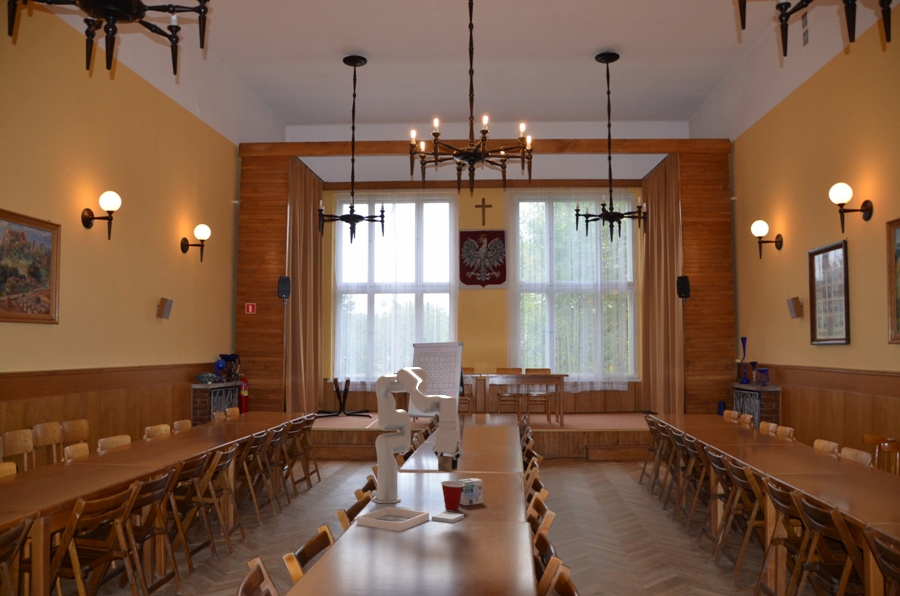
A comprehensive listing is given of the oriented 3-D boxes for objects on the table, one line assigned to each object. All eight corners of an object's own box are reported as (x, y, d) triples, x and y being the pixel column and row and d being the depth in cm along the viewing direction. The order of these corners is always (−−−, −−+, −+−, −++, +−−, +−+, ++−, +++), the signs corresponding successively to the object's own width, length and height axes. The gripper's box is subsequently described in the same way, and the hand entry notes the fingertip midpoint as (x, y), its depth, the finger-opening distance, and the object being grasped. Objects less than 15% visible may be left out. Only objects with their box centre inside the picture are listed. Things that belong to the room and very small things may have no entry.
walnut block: (438, 470, 299) (438, 456, 299) (445, 468, 304) (445, 454, 304) (450, 472, 296) (450, 457, 296) (457, 470, 301) (457, 455, 301)
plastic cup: (462, 513, 309) (461, 485, 310) (438, 511, 312) (438, 484, 313) (467, 507, 320) (466, 480, 321) (443, 506, 322) (443, 479, 323)
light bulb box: (464, 505, 324) (464, 482, 325) (456, 503, 330) (456, 479, 330) (483, 503, 329) (483, 479, 330) (475, 500, 335) (475, 477, 336)
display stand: (431, 520, 297) (431, 516, 297) (443, 515, 305) (443, 511, 305) (452, 522, 292) (452, 519, 292) (464, 517, 300) (464, 514, 300)
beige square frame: (356, 524, 290) (356, 516, 290) (387, 513, 308) (387, 506, 308) (400, 531, 279) (400, 523, 279) (429, 519, 297) (429, 512, 297)
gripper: (426, 425, 302) (426, 467, 301) (460, 427, 294) (461, 471, 292) (435, 423, 309) (435, 465, 308) (469, 425, 300) (469, 468, 299)
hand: (447, 467), depth 300 cm, fingers closed on walnut block, 6 cm apart
